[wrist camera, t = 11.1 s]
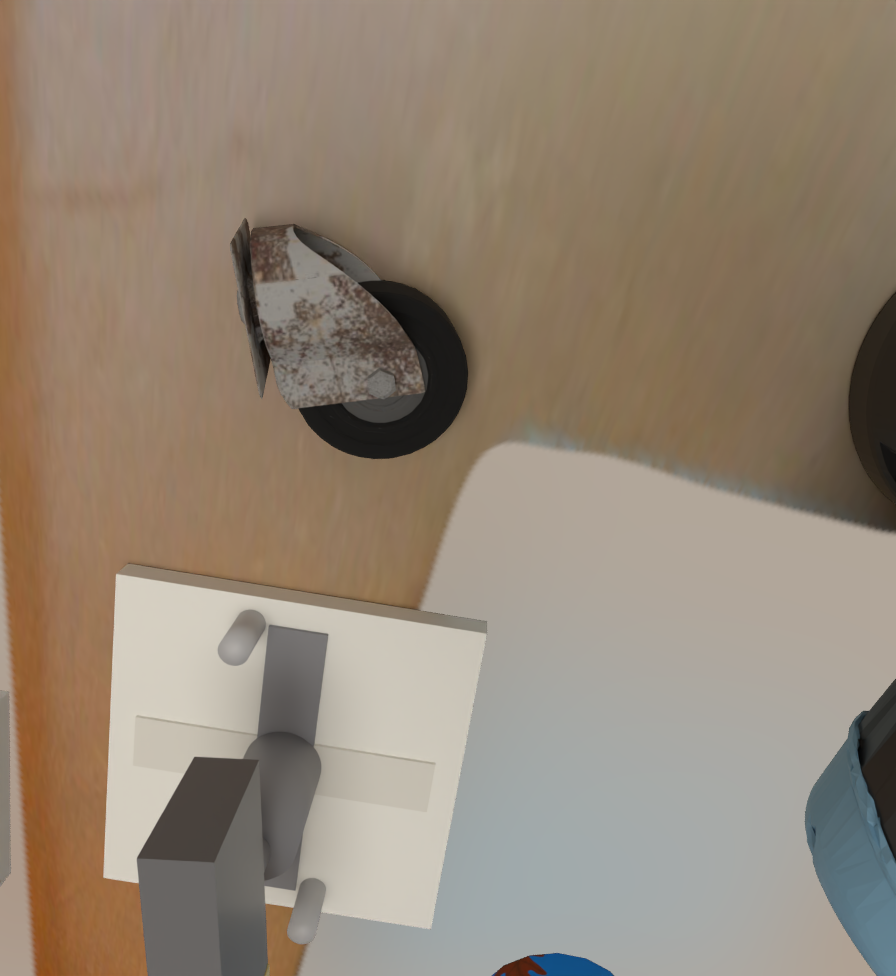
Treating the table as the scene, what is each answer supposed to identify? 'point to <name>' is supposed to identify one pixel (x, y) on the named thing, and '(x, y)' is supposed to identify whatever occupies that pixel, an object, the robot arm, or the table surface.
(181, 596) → the base plate
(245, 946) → the grey yellow rectangular block
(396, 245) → the table surface
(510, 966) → the thermos
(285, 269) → the caster wheel
